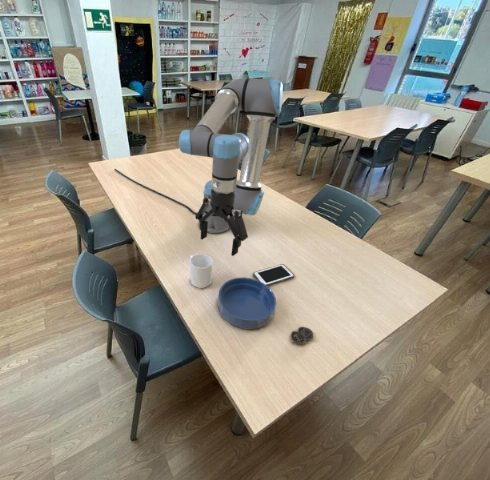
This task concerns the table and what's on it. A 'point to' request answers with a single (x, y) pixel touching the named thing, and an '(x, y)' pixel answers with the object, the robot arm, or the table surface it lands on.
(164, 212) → the table surface
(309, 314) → the table surface
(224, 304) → the bowl
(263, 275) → the cell phone
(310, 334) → the corroded twin loop
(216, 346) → the table surface
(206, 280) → the mug
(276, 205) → the table surface
